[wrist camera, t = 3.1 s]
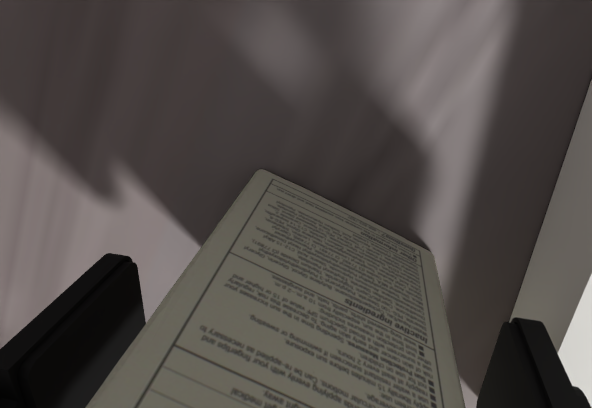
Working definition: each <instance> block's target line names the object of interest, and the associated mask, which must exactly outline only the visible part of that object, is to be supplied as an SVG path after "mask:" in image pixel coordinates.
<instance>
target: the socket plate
mask: <svg viewBox="0 0 592 408" xmlns="http://www.w3.org/2000/svg"><path fill="white" fill-rule="evenodd" d="M515 317H518V318H524V319H530V320H537V321H541V322H543V324H544V325H545V327H546V330H547V332H548V334H549V336H550V338H551V340H552V343H553V345H554V347H555V349H556V351H557V354H558V356H559V358H560V360H561V362H562V364H563V367H564V369H565V371H566V373H567V375H568V377H569V380H570V382H571V384H572V386H575V387H578V388H579V389H581V390H582V391H583V393H584V394H585V396H586V398H587V400H588V402H589V404H590V406H591V408H592V80H591V83H590V86H589V89H588V92H587V95H586V98H585V100H584V103H583V106H582V109H581V112H580V115H579V118H578V121H577V124H576V127H575V130H574V133H573V136H572V139H571V142H570V145H569V148H568V150H567V153H566V156H565V159H564V162H563V165H562V168H561V171H560V174H559V177H558V180H557V183H556V186H555V189H554V192H553V195H552V198H551V200H550V203H549V206H548V209H547V212H546V215H545V218H544V221H543V224H542V227H541V230H540V233H539V236H538V239H537V242H536V245H535V248H534V250H533V253H532V256H531V259H530V262H529V265H528V268H527V271H526V274H525V277H524V280H523V283H522V286H521V289H520V292H519V295H518V298H517V300H516V303H515V306H514V309H513V312H512V315H511V318H510V321H509V323H511V321H512V319H513V318H515Z"/></svg>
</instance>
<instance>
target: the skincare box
mask: <svg viewBox="0 0 592 408" xmlns="http://www.w3.org/2000/svg"><path fill="white" fill-rule="evenodd" d="M86 408H465V403H464V399H463V394H462V389H461V384H460V379H459V374H458V369H457V364H456V358H455V354H454V350H453V345H452V340H451V335H450V330H449V326H448V321H447V316H446V311H445V306H444V301H443V297H442V292H441V287H440V282H439V277H438V273H437V268H436V263H435V258H434V256H433V254H432V253H431V252H430V251H428V250H426V249H424V248H422V247H420V246H418V245H416V244H415V243H412V242H410V241H408V240H406V239H405V238H403V237H401V236H399V235H397V234H395V233H393V232H391V231H390V230H388V229H386V228H384V227H382V226H380V225H378V224H376V223H374V222H372V221H370V220H368V219H366V218H363V217H361V216H359V215H357V214H355V213H353V212H351V211H349V210H347V209H345V208H343V207H341V206H339V205H337V204H335V203H333V202H331V201H329V200H327V199H325V198H323V197H321V196H319V195H317V194H315V193H313V192H311V191H309V190H307V189H305V188H303V187H301V186H299V185H296V184H294V183H292V182H290V181H287V180H285V179H283V178H281V177H279V176H277V175H275V174H272V173H270V172H268V171H266V170H263V169H259V170H257V171H256V172H255V174H254V175H253V177H252V178H251V179H250V181H249V182H248V183H247V185H246V186H245V188H244V189H243V190H242V192H241V193H240V194H239V196H238V197H237V198H236V200H235V201H234V203H233V204H232V205H231V207H230V208H229V210H228V211H227V212H226V214H225V215H224V217H223V218H222V219H221V221H220V222H219V223H218V225H217V226H216V228H215V229H214V231H213V232H212V234H211V235H210V236H209V238H208V239H207V240H206V242H205V243H204V244H203V246H202V247H201V248H200V250H199V251H198V253H197V254H196V255H195V257H194V258H193V259H192V261H191V262H190V264H189V265H188V266H187V268H186V269H185V270H184V272H183V273H182V275H181V276H180V277H179V279H178V280H177V281H176V283H175V284H174V286H173V287H172V288H171V290H170V291H169V292H168V294H167V295H166V297H165V298H164V299H163V301H162V302H161V304H160V305H159V306H158V308H157V309H156V311H155V312H154V313H153V315H152V316H151V318H150V319H149V320H148V322H147V323H146V324H145V326H144V327H143V329H142V330H141V331H140V333H139V334H138V336H137V337H136V338H135V340H134V341H133V342H132V344H131V345H130V346H129V348H128V349H127V350H126V352H125V353H124V354H123V356H122V357H121V358H120V360H119V361H118V363H117V364H116V365H115V367H114V368H113V370H112V371H111V373H110V374H109V375H108V377H107V378H106V380H105V381H104V383H103V384H102V385H101V387H100V388H99V390H98V391H97V392H96V394H95V395H94V396H93V398H92V399H91V401H90V402H89V403H88V405H87V406H86Z"/></svg>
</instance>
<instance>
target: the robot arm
mask: <svg viewBox="0 0 592 408" xmlns="http://www.w3.org/2000/svg"><path fill="white" fill-rule="evenodd" d="M145 324H146V322H145V315H144V309H143V302H142V295H141V288H140V281H139V275H138V268H137V265H136V263H133V262H132V259H131V258H130V257H129V256H124V255H118V254H111V253H108V254H106V255H104V256H103V257H102V258H101V259H100V260H99V261H97V262H96V263H95V264H94V265H93V266H92V267H91V268H90V269H89V270H88V271H86V272H85V273H84V274H83V275H82V276H81V277H80V278H79V279H78V280H76V281H75V282H74V283H73V284H72V285H71V286H70V287H69V288H68V289H66V290H65V291H64V292H63V293H62V294H61V295H60V296H59V297H58V298H57V299H55V300H54V301H53V302H52V303H51V304H50V305H49V306H48V307H47V308H45V309H44V310H43V311H42V312H41V313H40V314H39V315H38V316H37V317H35V318H34V319H33V320H32V321H31V322H30V323H29V324H28V325H27V326H26V327H24V328H23V329H22V330H21V331H20V332H19V333H18V334H17V335H16V336H14V337H13V338H12V339H11V340H10V341H9V342H8V343H7V344H6V345H5V346H3V347H2V348H1V349H0V408H86V406H87V405H88V403H89V402H90V401H91V399H92V398H93V396H94V395H95V394H96V392H97V391H98V390H99V388H100V387H101V385H102V384H103V383H104V381H105V380H106V378H107V377H108V375H109V374H110V373H111V371H112V370H113V368H114V367H115V365H116V364H117V363H118V361H119V360H120V358H121V357H122V356H123V354H124V353H125V352H126V350H127V349H128V348H129V346H130V345H131V344H132V342H133V341H134V340H135V338H136V337H137V336H138V334H139V333H140V331H141V330H142V329H143V327H144V326H145ZM476 408H591V406H590V404H589V402H588V400H587V398H586V396H585V394H584V393H583V391H582V390H581V389H579V388H578V387H575V386H572V384H571V382H570V380H569V377H568V375H567V373H566V371H565V369H564V367H563V364H562V362H561V360H560V358H559V356H558V354H557V351H556V349H555V347H554V345H553V343H552V340H551V338H550V336H549V334H548V332H547V330H546V327H545V325H544V324H543V322H541V321H537V320H530V319H524V318H518V317H515V318H513V319H512V321H511V323H509V322H504V323H503V325H502V328H501V331H500V334H499V337H498V340H497V343H496V346H495V349H494V352H493V355H492V358H491V361H490V364H489V367H488V370H487V373H486V376H485V379H484V382H483V385H482V388H481V391H480V394H479V397H478V400H477V407H476Z"/></svg>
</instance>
